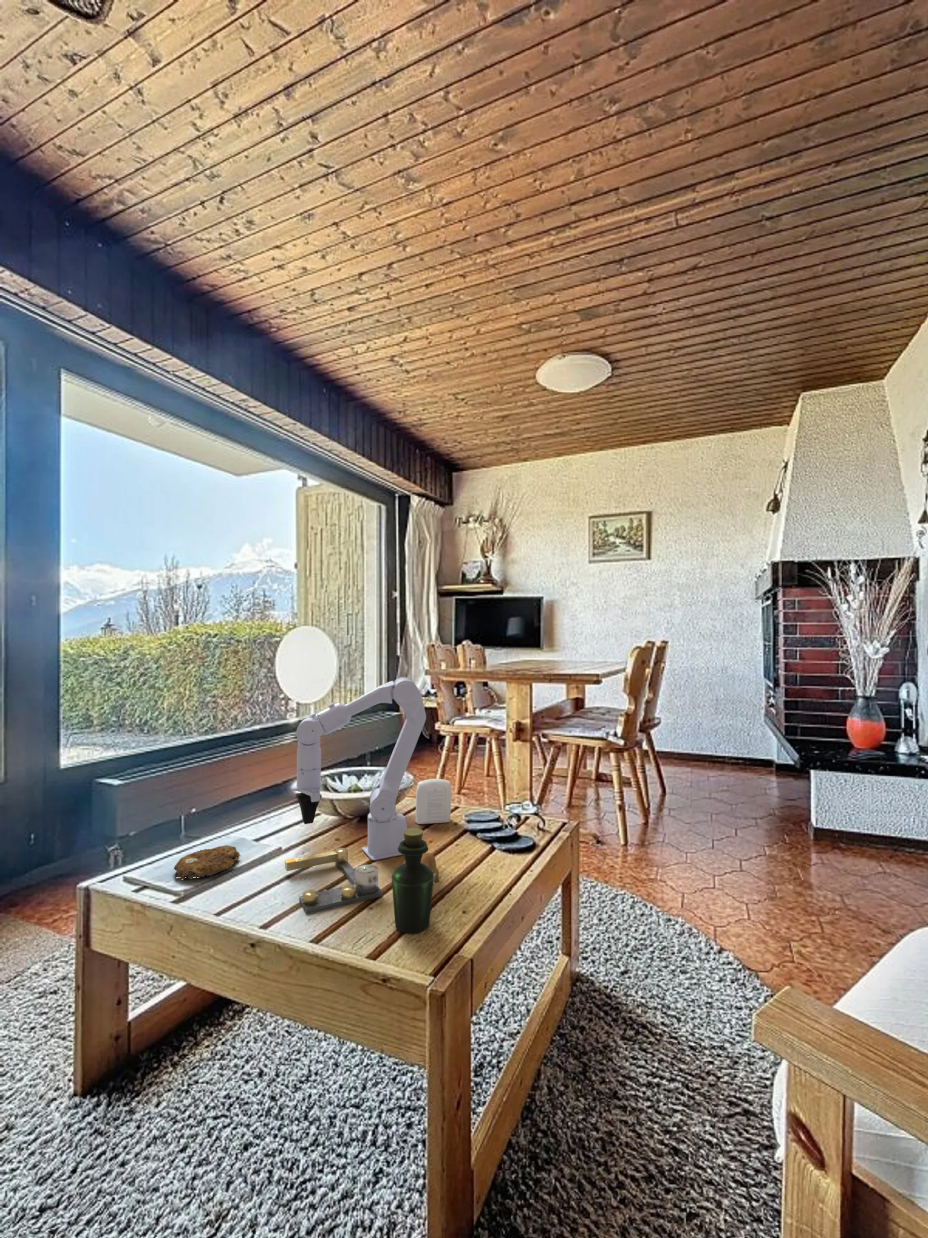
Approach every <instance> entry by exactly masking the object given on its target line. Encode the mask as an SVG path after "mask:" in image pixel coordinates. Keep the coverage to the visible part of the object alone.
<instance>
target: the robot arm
mask: <svg viewBox="0 0 928 1238" xmlns="http://www.w3.org/2000/svg"><path fill="white" fill-rule="evenodd" d="M393 700H394V701H395V703H396V704H397V705H398V706H399V707H400V708H401V709H402V711H403V713H404V716H405V717H406V718H405V720H404V723H403V725H402V728H401V730H400V732H399V735H398V737H397V740H396V743H395V746H394V748H393V750H392V753H391V755H390V758H389V760H388V762H387V766H386V767H385V770H384V772H383V774H382V777H381V778H380V779H379V782H378V784H377V785H376V786H375V787H374V788H373V789H372V791H370V795H369V801H370V805H369V813H368V814H367V846H363V847H362V848H361V850H362V851H363V852H364V853H365V854H366V856H367V857H368V858H369V859H370V860H371V861H378V860H383V859H388V858H392V857H398V856H402V855H403V854H401V853H399V852H398V847H399V844H400V842H402V841H403V840H405V838H404V833H403V831H404V830H406V829H408V826H407V819H406V817H405V816H404V814H402V813H397V812H396V808H397V807H396V802H397V801H396V800H397V799H398V798H397V797H398V794H399V790H400V786H401V783H402V780H403V778H404V775H405V773H406V770H407V767H408V765H409V763H410V760H411V759H412V755H413V752H414V751H415V748H416V746H417V743H418V740H419V737H420V735H421V732H422V730H423V728H424V725H425V723H426V721H427V714H426V709H425V706H424V701H423V695H422V693H421V690H419V688H418V686H417V684H415V682H414V680H412V679H411V678H409V677H407V676H401V677H398V678H397V679H395V680H391V681H388V682H386V683H383V684H381V685H379V686H376V687H375V688H373V689H371V690H370V691H368V692H367V693H365V694H363V695H361V696H358V697H357V698H355V699H354V700H352V701H350V702H348V703H347V704H345V703H341V702H338V703H335V702H332V703H329V704H328V708H325V709H324V710H321V711H320V712H317V713H316V712H314V713H312V714H311V715H310V717H306V718H304V719H302V720H301V722H300V723H299V725H298V726H297V728H296V730H295V735H296V736H295V737H296V738H297V749H296V785H293V786H291V790H292V791H293V792H298V793H295V797H296V799H297V802H298V803H299V809H300V812H301V818H302V822H303V824H304V825H311V824H313V823H314V821H315V818H316V812H317V809H318V805H319V803H320V801H322V798H323V796H322V794H321V791H322V779H321V777H322V749H321V737H322V736H327V735H329V734H331V733H333V732H335V731H338V730H339V729H341V728H343V727H344V726H346V725H348V724H350V722H351V718H352V717H353V716H355V715H357V714H359V713H361V712H363V711H365V710H368V709H369V708H371V707H373V706H376V705H378V704H380V703H384V704H393ZM403 856H404V855H403Z"/></svg>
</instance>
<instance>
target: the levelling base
mask: <svg viewBox="0 0 928 1238" xmlns="http://www.w3.org/2000/svg"><path fill="white" fill-rule="evenodd" d="M338 867H339V869H340V871H341V872H342V873H343V874H344V876H345V878H346V879H347V880H348V881H349V883H350V884H349V885H344V886H340V887H335V888H332V889H331V888H329V889H323V890H321V891H317V890H315V889H309V890H306V891H304V892H303V893H302V895H300V896H298V902H299V904H300V906H301V907H302V909H303V911H304V913H305V914H306V915H308V914H313V913H316V912H323V911H326V910H330V909H335V908H338V907H342V906H343V907H344V906H346V905H351V904H355V903H359V902H364V901H368V900H373V899H377V898H382V897H383V890H382V889H381V888H380V886H379V867H378V866H377V865H374V864H362V865H359V866H357V867H355V869H354V868H353V866H352V865H351V864H350V862H349V861H348V862H344V863H339V866H338Z"/></svg>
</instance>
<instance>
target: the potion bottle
mask: <svg viewBox="0 0 928 1238" xmlns="http://www.w3.org/2000/svg"><path fill="white" fill-rule="evenodd" d="M403 833H404V838H405V840H403V841H402V842H400V844H399V847H398V852H399V853H401V854H403V858H404V861H405V863H404V862H403V863H404V864H403V863H402V864H401V865H399V866H398V867H395V869H394V870H393V873H392V874H391V887H392V888H391V889H392V899H393V900H392V901H393V912H394V913H393V914H394V915H393V916H394V925H395V928H396V929H397V930H398V931H400V932H401V933H403V934H408V935H409V934H410V935H414V934H419V933H422V932H424V931H426V929H428V928H429V926H430V921H431V913H432V911H431V910H432V902H433V901H432V899H433V892H434V882H435V881H434V878H435V874H433V872H432V870H431V869H430V867H428V866H427V865H424V864H422V863H420V862H421V859H422V855H423V854H425V853H428V851H429V847H428V844H427V841H426V840H424V839H422V838H423V834H424V831H423V829H421V828H419V827H418V828H417V827H410V828H407V829H406V830H404V831H403Z"/></svg>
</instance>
